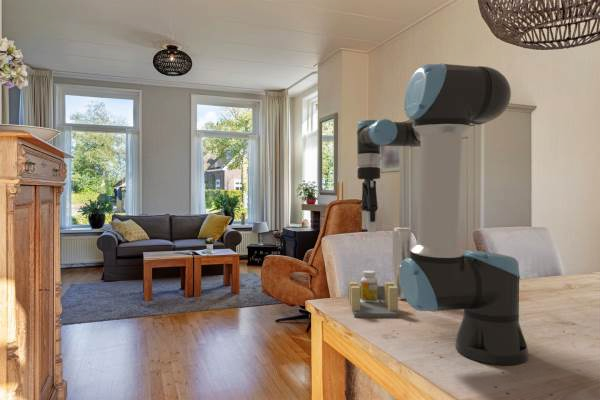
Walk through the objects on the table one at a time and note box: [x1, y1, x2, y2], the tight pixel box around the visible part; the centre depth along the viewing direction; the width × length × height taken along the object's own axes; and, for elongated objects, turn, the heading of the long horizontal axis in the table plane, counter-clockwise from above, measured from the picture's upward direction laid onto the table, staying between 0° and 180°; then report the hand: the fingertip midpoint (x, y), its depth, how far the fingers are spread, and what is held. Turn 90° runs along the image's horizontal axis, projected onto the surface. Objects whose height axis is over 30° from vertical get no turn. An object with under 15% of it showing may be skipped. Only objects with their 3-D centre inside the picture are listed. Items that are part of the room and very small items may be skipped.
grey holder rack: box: [347, 281, 399, 318], centre depth 133 cm, size 20×14×8 cm
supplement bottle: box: [360, 270, 378, 302], centre depth 137 cm, size 5×5×10 cm
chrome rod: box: [392, 227, 412, 300], centre depth 146 cm, size 6×6×25 cm
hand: (369, 230), depth 138 cm, fingers open, 13 cm apart
